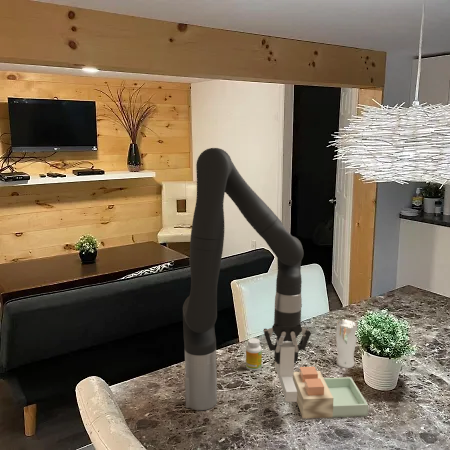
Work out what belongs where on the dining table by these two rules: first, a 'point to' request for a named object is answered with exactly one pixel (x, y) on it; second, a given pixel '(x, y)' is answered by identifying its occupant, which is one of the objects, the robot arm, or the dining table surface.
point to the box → (346, 398)
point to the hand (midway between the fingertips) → (285, 362)
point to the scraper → (287, 371)
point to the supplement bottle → (253, 354)
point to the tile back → (308, 373)
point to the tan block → (313, 399)
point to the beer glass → (346, 342)
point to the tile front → (314, 387)
